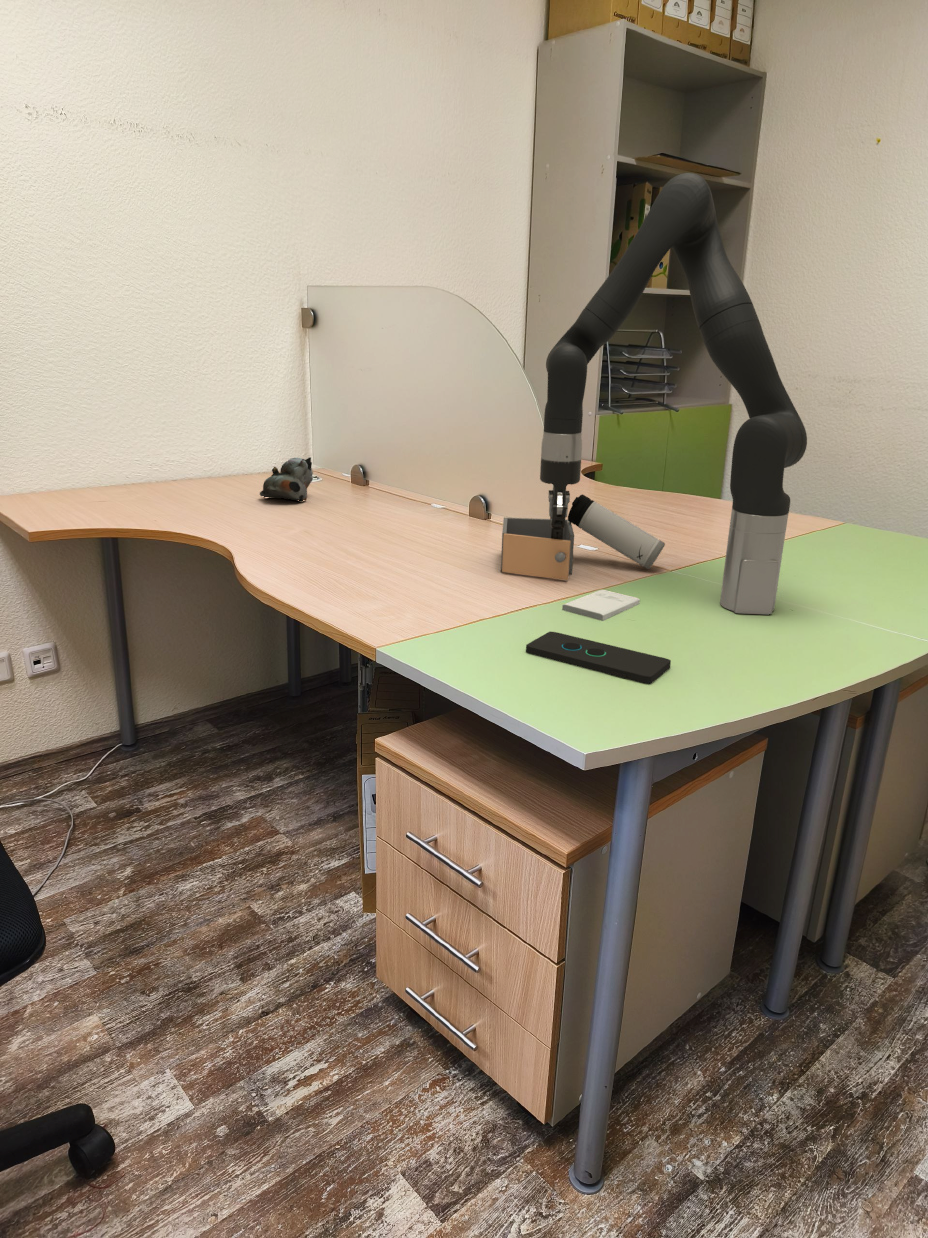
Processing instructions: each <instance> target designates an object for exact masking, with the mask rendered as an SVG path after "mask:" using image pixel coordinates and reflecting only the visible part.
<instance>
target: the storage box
mask: <svg viewBox="0 0 928 1238" xmlns="http://www.w3.org/2000/svg"><path fill="white" fill-rule="evenodd" d="M502 522H503V523H502V531H501V556H500V557H501V559H500V560H501V562H500V563H501V564H500V573H503V572H502V564H503V537H504V534H505V533H506V534H515V535H524V536H533V537H542V538H551V527H550V522H551V519H550V518H532V517H531V518H530V517H528V518H527V517H503V521H502ZM563 540H569V541H571V545H570V560H569V575H570V576H572V574H573V563H574V562H573V560H574V546H575V533H574V528H573V523H571V522H569V521H568V519H565V527H564V529H563Z"/></svg>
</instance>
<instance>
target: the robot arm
mask: <svg viewBox="0 0 928 1238" xmlns="http://www.w3.org/2000/svg"><path fill="white" fill-rule="evenodd" d="M715 207H716V206H715V202H714V198H713V194H712V190H711V188H710V186H709V184H708V182H707V181H706V179H704V177H703V176H701V175H699V174H696V173H693V172H685V173H680V174H677V175H675V176H674V177H672V178H671V179H669V180H668V181H667V182H666V183H665V184H664V185H663V186H662V188H661V190H660V191H659V192H658V194H657V196H656V198H655V200H654V201H653V203H652V205H651V207H650V208H649V210H648V213H647V214H646V216H645V219H644V220H643V222H642V224H641V225H640V227H639V229H638V231H637V232H636V233H635V235H634V237H633V239H632V240H631V242H630V244H629V245H628V246H627V248H626V250H625V251H624V253H623V255H622V256H621V258H619V261H618V262H617V263H616V265H615V266H614V268H613V269H612V270H611V272H610V273H609V275H608V277H607V278H606V279H605V280H604V282H603V283H602V284H601V286H600V287H599V288H598V290H597V291H596V292H595V293H594V295H593V296H592V297H591V299H590V300H589V301H588V302H587V304H586V305H585V306H584V308H583V309H582V310H581V312H580V314H579V315H578V317H577V319H576V321H575V322H574V323H573V324H572V325H571V326H570V327H569V329H568V330H567V331H566V332H565V333H564V334H563V335H562V336H561V337H560V339H559V340H558V341H557V342H556V344H554V346H553V347H552V348H551V350H550V351H549V353H548V355H547V357H546V362H545V368H546V372H547V390H546V391H547V392H546V393H547V398H546V404H545V408H544V414H543V415H544V417H543V434H542V439H541V440H542V441H541V452H540V453H541V454H540V469H539V471H540V472H539V480H540V482H542V483H545V484H548V485H552V489H549V490H548V493H547V495H548V505H549V506H548V516H549V519H551V522H550V527H551V539H560V540H563V529H564V527H565V520H566V518H568V514H569V503H570V502H571V501H570V500H571V493H570V490H567V486H568V485H571V486H572V485H576V484H579V482H580V481H581V471H582V470H581V469H582V455H583V453H582V451H583V439H582V434H583V433H582V431H583V429H582V428H583V415H584V414H583V413H584V412H583V411H584V410H583V408H584V407H583V405H584V404H583V402H584V397H585V391H586V383H587V379H588V378H587V376H588V365H589V363H590V362H591V360H592V359H594V356H595V355H596V354H597V353H598V352H599V350H600V348H602V347H603V346H604V345H606V344H607V343H608V342H609V341H610V340H611V339H612V338H613V337H614V335H615V334H616V333H617V331H619V330H620V328H621V326H622V325H623V324H624V323H625V322H626V321H627V320H628V317H629V316H630V315H631V314H632V311H634V309H635V307H637V304H638V303H639V301H640V300H641V299H640V298H641V297H642V295H643V294H644V291H645V289H646V287H647V285H648V283H649V282H650V279H651V278H652V276H653V274H654V272H655V271H656V269H657V267H658V266H659V265H660V263H661V262H662V260H663V258H664V257H665V256H666V255H667V253H669V251H670V249H671V248H672V250H673V252H674V254H675V256H676V258H677V261H678V263H679V264H680V267H681V268H682V270H683V273H684V275H685V279H686V281H687V286H688V289H689V295H690V302H691V306H692V310H693V313H694V317H695V320H696V324H697V327H698V330H699V332H700V336H701V339H702V341H703V344H704V346H705V349H706V351H707V353H708V355H709V357H710V360H711V361H712V362H713V364H714V365H715V366H716V368H717V369H718V370H719V371H720V373H722V375H723V376H724V378H726V379H727V381H728V383H730V385H732V387H733V388H734V389H735V390H736V392H737V394H738V395H739V397H740V398H741V401H742V402H743V404H744V407H745V409H746V413H747V415H748V419H747V420H746V421H744V422H743V423H742V424H741V425H740V426H739V428H738V430H737V433H736V434H735V438H734V442H733V447H732V455H731V468H730V469H731V470H730V483H729V489H730V494H731V498H732V504H731V505H732V506H731V513H730V519H729V521H730V522H729V529H728V535H727V545H726V552H725V557H724V558H725V561H724V566H723V567H724V568H723V573H722V574H723V576H722V582H721V583H722V584H721V592H720V599H719V604H720V606H722V607H723V608H725V609H726V610H729V611H732V612H734V613H735V614H743V615H744V614H748V615H769V614H771V615H772V613H773V611H774V610H775V606H776V600H777V593H778V586H779V578H780V572H781V566H782V565H781V564H782V561H783V560H782V559H783V552H784V547H785V546H784V545H785V540H786V539H785V538H786V532H787V526H788V519H789V513H790V507H791V497H790V495H789V494H787V492H785V491H784V486H783V485H784V473H785V468H790V467H793V466H794V465H796V464H797V463H798V462H800V460H801V459H802V458H803V457H804V454H805V453H806V450H807V447H808V446H807V444H808V436H807V435H808V434H807V431H806V428H805V425H804V423H803V421H802V418H801V417H800V415H799V412H798V411H797V409H796V406H794V403H793V401H792V400H791V397H790V396H789V393H788V392H787V389H786V388H785V386H784V384H783V381H782V379H781V377H780V374H779V372H778V369H777V366H776V363H775V361H774V358H773V355H772V352H771V349H770V348H769V345H768V342H767V339H766V337H765V334H764V330H763V327H762V324H761V322H760V319H759V316H758V314H757V311H756V309H755V307H754V304H753V301H752V299H751V297H750V294H749V292H748V291H747V288H746V287H745V285H744V283H743V281H742V279H741V278H740V277H739V275H738V273H737V271H736V270H735V268H734V267H733V265H732V264H731V262H730V259H729V258H728V255H727V252H726V250H725V246H724V242H723V239H722V236H721V232H720V228H719V224H718V220H717V214H716V208H715Z"/></svg>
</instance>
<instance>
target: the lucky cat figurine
mask: <svg viewBox="0 0 928 1238" xmlns="http://www.w3.org/2000/svg"><path fill="white" fill-rule="evenodd" d="M312 465H313V463H312V457H308V458H306V459H305V458H301V457H291V458H290V459H288V460H286V461H285V462H284V463H283V464H282V465H281V467H280V472H279V469H278V467H276V466H274V467H273V468H272V469H271V472H272V474H271V476H268V477H267V478H266V479H265V480H264V482H263V485H262V490H260V492H259V495H260V497H262V496H264V497H279V498H278V499H281V498H284V499H283V500H289V499H291V501H292V500H293V501H295V500H299V501H303V500H307V497H308V489H309V486H310V485H311V483H312V482H313V479H314V476H313V474H314V472H313V469H312ZM264 497H263V498H264Z"/></svg>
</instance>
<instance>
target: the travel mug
mask: <svg viewBox="0 0 928 1238" xmlns="http://www.w3.org/2000/svg"><path fill="white" fill-rule="evenodd" d="M572 501H573V502H571V505H572V506H571V508H570V510H569V511H568V513H567V520H568V521H569V522H571V524H572V525H575V526H576V527H578V528H579V529H581V530H582V531H584V532H586V533H587V534H589V535H591V536H592V537H594V538H595V539H596V540H598V541H601V542H602V543H603V544H604V545H607V546H609V547H610V548H611V549H614V550H615V551H617V552H619V553H620V554H621V555H623V556H625V557H626V558H628V559H630V560H632V561H633V562H635V563H636V564H639V565H640V566H642V567H643V568H644V569H646V570H650V569H651V568H652V566H653V565H654V563H655V562H656V561H657V559H658V557H659V556H660V555H661V553H662V551H663V549H664V548H665V546H666V543H665V542H664V541H662V540H661V539H659V538H658V537H656V536H654V535H653V534H651V533H649V532H647V531H645V530H644V529H642V528H641V527H639V526H637V525H635V524H634V523H632V522H630V521H629V520H627V519H625V518H624V517H622V516H621V515H619V514H617V513H615V512H614V511H612V510H610V509H608V507H606V506H604V505H602V504H601V503H598V502H597V501H596V500H593V499H591V498H590V497H588V496H586V495H585V494H580V495H579V496H576V497H575V498H574V499H573V500H572Z"/></svg>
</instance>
